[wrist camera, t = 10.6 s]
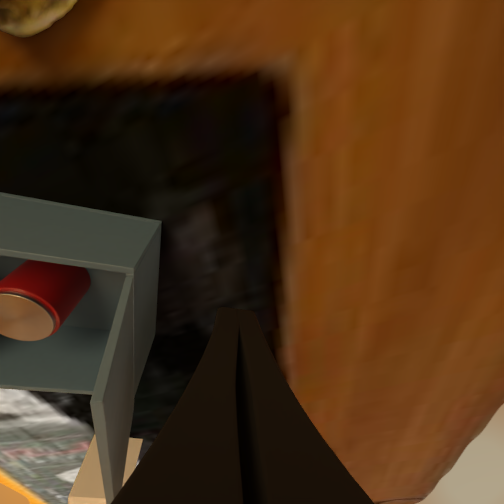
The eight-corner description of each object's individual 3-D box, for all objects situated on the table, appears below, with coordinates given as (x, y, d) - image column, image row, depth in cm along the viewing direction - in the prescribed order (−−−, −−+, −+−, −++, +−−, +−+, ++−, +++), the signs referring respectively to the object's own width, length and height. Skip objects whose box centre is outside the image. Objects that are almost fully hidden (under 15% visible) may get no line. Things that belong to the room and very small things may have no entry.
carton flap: (125, 276, 12) (133, 277, 13) (128, 406, 18) (134, 405, 18) (89, 403, 8) (103, 401, 8) (109, 526, 13) (116, 524, 13)
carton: (161, 220, 18) (133, 268, 13) (155, 334, 24) (134, 397, 19) (-42, 184, 16) (-169, 224, 11) (5, 318, 22) (-64, 384, 17)
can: (93, 300, 21) (61, 346, 17) (33, 293, 20) (-14, 339, 16) (88, 256, 19) (50, 297, 15) (21, 246, 18) (-37, 286, 14)
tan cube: (94, 433, 33) (68, 496, 27) (143, 438, 34) (126, 499, 29) (91, 454, 35) (66, 515, 30) (136, 458, 37) (120, 517, 32)
